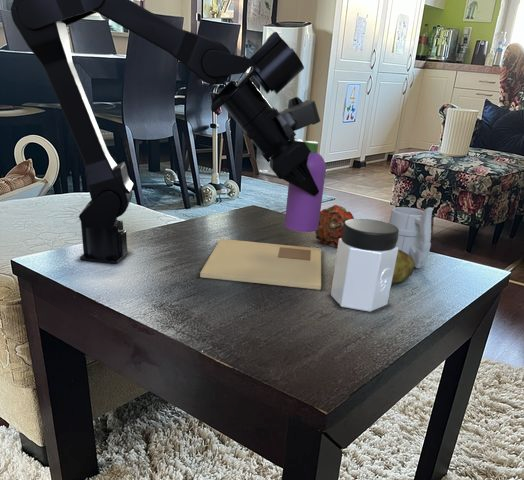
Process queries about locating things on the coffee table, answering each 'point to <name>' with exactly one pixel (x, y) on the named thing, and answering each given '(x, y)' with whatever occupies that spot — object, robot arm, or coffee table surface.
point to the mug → (413, 232)
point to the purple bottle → (306, 196)
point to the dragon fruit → (332, 224)
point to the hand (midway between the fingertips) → (313, 189)
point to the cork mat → (265, 264)
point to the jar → (365, 264)
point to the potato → (402, 267)
